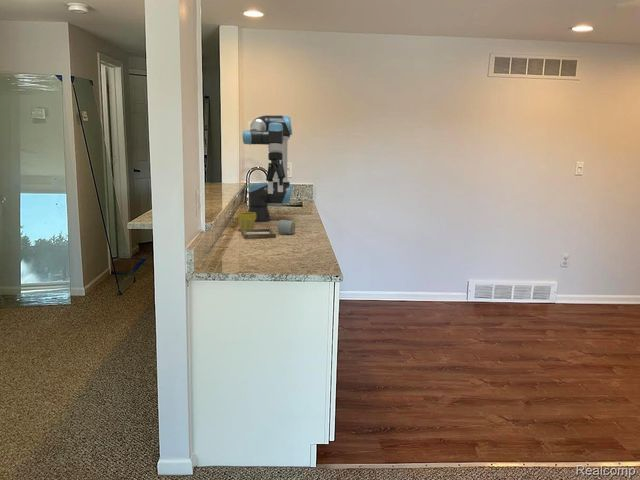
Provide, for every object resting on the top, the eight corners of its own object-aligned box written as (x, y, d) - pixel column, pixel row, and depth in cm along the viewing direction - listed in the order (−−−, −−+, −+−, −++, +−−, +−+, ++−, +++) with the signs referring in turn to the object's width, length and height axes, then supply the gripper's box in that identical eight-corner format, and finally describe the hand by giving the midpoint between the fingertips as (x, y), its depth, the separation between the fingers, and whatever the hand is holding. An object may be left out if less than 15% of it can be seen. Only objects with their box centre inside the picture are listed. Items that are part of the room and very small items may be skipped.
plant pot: (258, 229, 294) (258, 212, 292) (254, 232, 284) (254, 214, 282) (240, 228, 295) (240, 211, 293) (235, 231, 285) (235, 214, 283)
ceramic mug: (292, 235, 277) (292, 221, 275) (277, 234, 278) (277, 220, 277) (297, 232, 287) (297, 218, 285) (283, 231, 289) (283, 218, 287)
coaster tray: (241, 233, 280) (241, 229, 280) (271, 232, 284) (271, 228, 284) (244, 239, 265) (244, 234, 264) (275, 238, 269) (275, 233, 268)
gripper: (260, 155, 284) (260, 194, 284) (278, 148, 262) (277, 190, 262) (273, 156, 288) (272, 194, 288) (291, 149, 265) (291, 191, 266)
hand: (275, 192), depth 275 cm, fingers open, 13 cm apart
